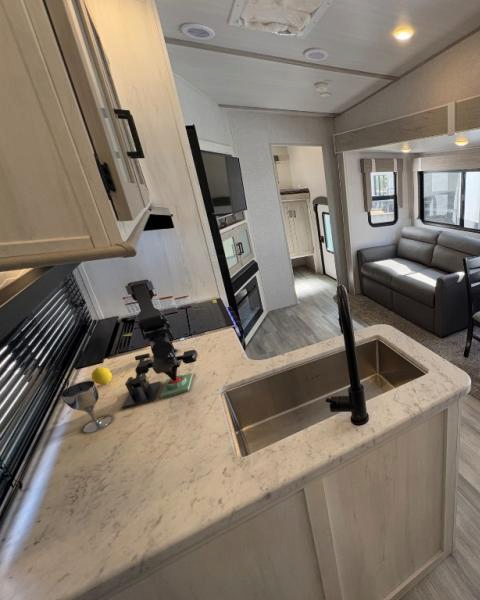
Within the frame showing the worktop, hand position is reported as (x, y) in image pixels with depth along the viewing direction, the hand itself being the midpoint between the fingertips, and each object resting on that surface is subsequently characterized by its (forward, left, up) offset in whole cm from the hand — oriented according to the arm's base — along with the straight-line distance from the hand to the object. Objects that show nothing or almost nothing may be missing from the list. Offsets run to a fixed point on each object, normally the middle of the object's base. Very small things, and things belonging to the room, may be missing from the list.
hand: (175, 379), depth 120 cm
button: (0, 0, -2) cm, 2 cm away
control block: (0, 0, -3) cm, 3 cm away
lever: (+4, -12, +4) cm, 13 cm away
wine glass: (+23, -7, -3) cm, 24 cm away
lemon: (+8, -31, -3) cm, 32 cm away
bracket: (+8, -8, -3) cm, 12 cm away
